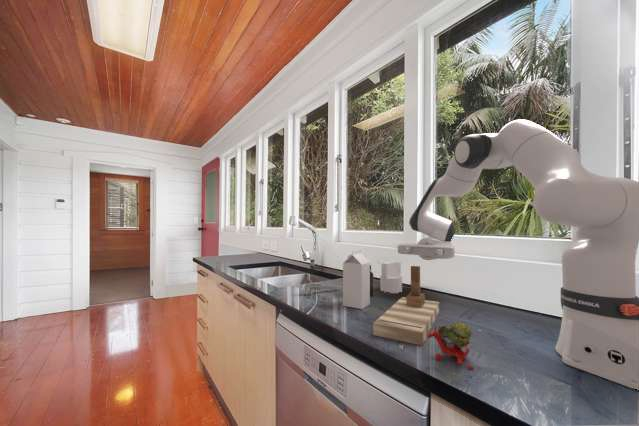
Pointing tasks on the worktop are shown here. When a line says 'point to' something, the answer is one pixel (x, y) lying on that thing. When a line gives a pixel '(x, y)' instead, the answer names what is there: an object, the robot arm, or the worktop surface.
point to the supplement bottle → (371, 282)
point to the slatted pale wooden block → (407, 322)
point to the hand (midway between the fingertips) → (421, 251)
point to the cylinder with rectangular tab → (391, 277)
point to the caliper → (319, 287)
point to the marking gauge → (415, 289)
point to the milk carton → (356, 281)
